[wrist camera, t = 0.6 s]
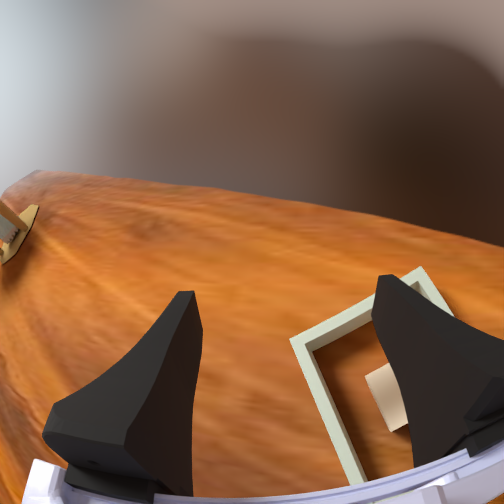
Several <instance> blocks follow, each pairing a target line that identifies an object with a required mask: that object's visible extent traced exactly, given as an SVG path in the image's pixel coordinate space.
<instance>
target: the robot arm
mask: <svg viewBox="0 0 504 504" xmlns="http://www.w3.org/2000/svg"><path fill="white" fill-rule="evenodd" d="M371 317H372V320H373V324H374V327H375V330H376V334H377V336H378V339H379V341H380V343H381V346H382V348H383V350H384V352H385V355H386V357H387V359H388V361H389V363H390V366H391V368H392V370H393V373H394V375H395V377H396V380H397V383H398V385H399V388H400V392H401V396H402V399H403V403H404V407H405V411H406V416H407V420H408V425H409V431H410V437H411V443H412V452H413V462H414V469H411V470H408V471H405V472H401V473H398V474H395V475H391V476H388V477H384V478H380V479H377V480H373V481H369V482H364V483H360V484H356V485H351V486H346V487H341V488H336V489H330V490H324V491H318V492H311V493H303V494H295V495H285V496H273V497H256V498H203V497H193V482H192V414H193V402H194V395H195V389H196V383H197V378H198V372H199V366H200V360H201V354H202V338H203V328H202V324H201V320H200V315H199V311H198V306H197V302H196V297H195V293H194V291H179V292H178V293H177V294H176V295H175V297H174V298H173V299H172V301H171V302H170V303H169V305H168V306H167V307H166V309H165V310H164V311H163V313H162V314H161V315H160V317H159V318H158V319H157V320H156V322H155V323H154V324H153V325H152V327H151V328H150V329H149V330H148V331H147V333H146V334H145V335H144V336H143V337H142V338H141V339H140V341H139V342H138V343H137V344H136V345H135V346H134V347H133V348H132V349H131V350H130V351H129V352H128V353H127V354H126V355H125V356H124V357H123V358H122V359H121V360H119V361H118V362H117V363H116V364H115V365H113V366H112V367H111V368H110V369H108V370H107V371H106V372H105V373H103V374H102V375H101V376H99V377H98V378H97V379H95V380H94V381H92V382H91V383H89V384H88V385H86V386H85V387H83V388H82V389H80V390H78V391H77V392H75V393H73V394H71V395H69V396H67V397H66V398H64V399H62V400H60V401H58V402H56V403H54V404H53V407H52V409H51V412H50V414H49V417H48V419H47V422H46V425H45V427H44V430H43V433H42V437H43V439H44V441H45V443H46V444H47V445H48V446H49V447H50V448H51V449H52V450H53V451H55V452H56V453H57V454H58V455H59V456H60V457H62V458H63V459H64V460H65V461H67V462H68V463H69V464H68V468H67V470H65V469H64V468H61V467H59V466H56V465H53V464H50V463H47V462H44V461H41V460H38V459H34V461H33V465H32V468H31V471H30V474H29V478H28V481H27V485H26V488H25V492H24V496H23V500H22V504H368V503H372V502H376V501H379V500H383V499H386V498H390V497H393V496H397V495H400V494H403V493H406V492H409V491H412V490H414V491H413V492H411V493H408V494H405V495H402V496H399V497H396V498H392V499H389V500H385V501H382V502H378V503H375V504H486V503H487V502H489V501H491V500H493V499H494V498H496V497H497V496H499V495H501V494H502V493H504V340H502V339H499V338H496V337H494V336H491V335H489V334H487V333H484V332H482V331H480V330H478V329H476V328H474V327H472V326H470V325H468V324H466V323H464V322H462V321H461V320H459V319H457V318H455V317H454V316H452V315H450V314H449V313H447V312H446V311H444V310H443V309H441V308H440V307H438V306H437V305H435V304H434V303H432V302H431V301H429V300H428V299H427V298H425V297H424V296H422V295H421V294H420V293H418V292H417V291H416V290H414V289H413V288H412V287H410V286H409V285H407V284H406V283H405V282H403V281H402V280H400V279H399V278H397V277H396V276H394V275H393V274H390V275H380V276H379V277H378V282H377V288H376V293H375V298H374V303H373V307H372V312H371Z"/></svg>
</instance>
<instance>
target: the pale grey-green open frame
mask: <svg viewBox="0 0 504 504" xmlns="http://www.w3.org/2000/svg"><path fill="white" fill-rule="evenodd" d="M400 280H402V281H403V282H405V283H406V284H407V285H409V286H410V287H412V288H413V289H414V290H416V291H417V292H418V293H420V294H421V295H422V296H424V297H425V298H427V299H428V300H429V301H431V302H432V303H434V304H435V305H437V306H438V307H440V308H441V309H443V310H444V311H446V312H447V313H449V314H450V315H452V316H454V315H453V313H452V312H451V310H450V309H449V307H448V305H447V304H446V302H445V301H444V299H443V298H442V296H441V295H440V293H439V292H438V290H437V289H436V287H435V286H434V284H433V283H432V281H431V280H430V278H429V277H428V275H427V274H426V272H425V271H424V270H423V268H422V267H421V266H420V267H418V268H417V269H415V270H413V271H412V272H410V273H409V274H407V275H405V276H404V277H402V278H400ZM374 298H375V294H373V295H372V296H370V297H368V298H366V299H365V300H363V301H361V302H359V303H357V304H356V305H354V306H352V307H350V308H348V309H347V310H345V311H343V312H341V313H339V314H337V315H335V316H334V317H332V318H330V319H328V320H326V321H324V322H322V323H320V324H318V325H316V326H314V327H312V328H310V329H308V330H306V331H304V332H302V333H300V334H298V335H296V336H294V337H292V338H290V339H289V340H290V342H291V344H292V347H293V349H294V352H295V354H296V356H297V359H298V361H299V364H300V366H301V368H302V371H303V373H304V375H305V378H306V380H307V383H308V385H309V387H310V390H311V392H312V395H313V397H314V399H315V402H316V404H317V406H318V409H319V411H320V414H321V416H322V418H323V421H324V423H325V426H326V428H327V430H328V433H329V435H330V438H331V440H332V442H333V445H334V447H335V449H336V452H337V454H338V457H339V459H340V461H341V464H342V466H343V469H344V471H345V473H346V476H347V478H348V481H349V483H350V485H356V484H360V483H364V482H368V480H367V477H366V475H365V473H364V470H363V468H362V466H361V463H360V461H359V459H358V456H357V454H356V452H355V449H354V447H353V445H352V442H351V440H350V438H349V435H348V433H347V431H346V428H345V426H344V424H343V421H342V419H341V417H340V414H339V412H338V410H337V408H336V405H335V403H334V401H333V398H332V396H331V394H330V392H329V389H328V387H327V385H326V382H325V380H324V378H323V376H322V373H321V371H320V369H319V367H318V364H317V362H316V360H315V357H314V355H313V353H312V351H315V350H317V349H319V348H321V347H323V346H325V345H326V344H328V343H330V342H332V341H334V340H336V339H338V338H340V337H342V336H344V335H346V334H348V333H349V332H351V331H353V330H355V329H357V328H359V327H360V326H362V325H364V324H366V323H368V322H369V321H371V320H372V317H371V312H372V307H373V303H374ZM413 491H414V490H412V491H409V492H406V493H403V494H400V495H397V496H393V497H390V498H386V499H383V500H379V501H376V502H372V503H368V504H375V503H378V502H382V501H385V500H389V499H392V498H396V497H399V496H402V495H405V494H408V493H411V492H413Z"/></svg>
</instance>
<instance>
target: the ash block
mask: <svg viewBox="0 0 504 504" xmlns="http://www.w3.org/2000/svg"><path fill="white" fill-rule="evenodd" d="M365 378H366V381H367V384H368V386H369V388H370V390H371V392H372V395H373V397H374V399H375V401H376V403H377V405H378V407H379V410H380V412H381V414H382V416H383V418H384V420H385V423H386V425H387V427H388V429H389V430H390V432H392V431H394V430H396V429H398V428H399V427H401V426H403V425H405V424H407V423H408V420H407V416H406V411H405V407H404V403H403V399H402V396H401V392H400V388H399V385H398V383H397V380H396V377H395V375H394V373H393V370H392V368H391V366H390V363H388V364H386V365H384V366H383V367H381V368H379V369H377V370H375V371H374V372H372V373H370V374H368V375H366V376H365Z"/></svg>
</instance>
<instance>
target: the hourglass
mask: <svg viewBox="0 0 504 504" xmlns="http://www.w3.org/2000/svg"><path fill="white" fill-rule="evenodd" d="M37 209H38V205H33V204H31V205H30V206H29V207H28V208H27V209H26V210H24V211H23V212H22V213H21V214H20V215H19V216H17V215H16V214H15V213H14V212H13V211H12V210H11V209H9V208H8V207H7V206H6V205H5V204H4V203H2V202H1V201H0V239H2V241H3V242H4V243H3V246H2V249H1V248H0V261H1V263H2V264H4V263H5V262H6V261H7V260H8V259H10V258H11V257H12V256H13V255H15V254H16V252H17V250H18V248H19V247H20V245H21V243H22V241H23V240H24V238H25V236H26V234H27V233H28V231H29V229H30V228H31V225H32V222H33V220H34V217H35V214H36V212H37Z"/></svg>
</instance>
